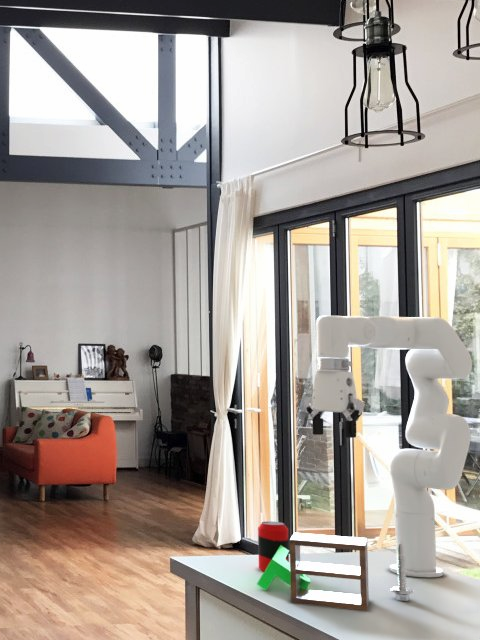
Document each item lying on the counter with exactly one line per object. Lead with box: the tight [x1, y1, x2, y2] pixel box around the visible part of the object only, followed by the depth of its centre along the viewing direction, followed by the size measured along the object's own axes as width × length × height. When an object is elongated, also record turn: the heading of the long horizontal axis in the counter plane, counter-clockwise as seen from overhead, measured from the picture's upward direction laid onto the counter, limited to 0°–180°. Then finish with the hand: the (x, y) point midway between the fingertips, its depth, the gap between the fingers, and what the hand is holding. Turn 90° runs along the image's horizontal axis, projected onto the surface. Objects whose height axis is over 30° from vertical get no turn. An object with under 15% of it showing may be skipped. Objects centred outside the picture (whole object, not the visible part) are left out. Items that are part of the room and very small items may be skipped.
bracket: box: [256, 545, 312, 591], centre depth 248 cm, size 20×10×7 cm
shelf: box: [289, 532, 370, 612], centre depth 230 cm, size 10×16×14 cm, turn 66°
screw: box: [390, 542, 415, 602], centre depth 233 cm, size 13×5×5 cm
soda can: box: [257, 520, 290, 573], centre depth 264 cm, size 8×8×12 cm
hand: (334, 435), depth 248 cm, fingers open, 9 cm apart
